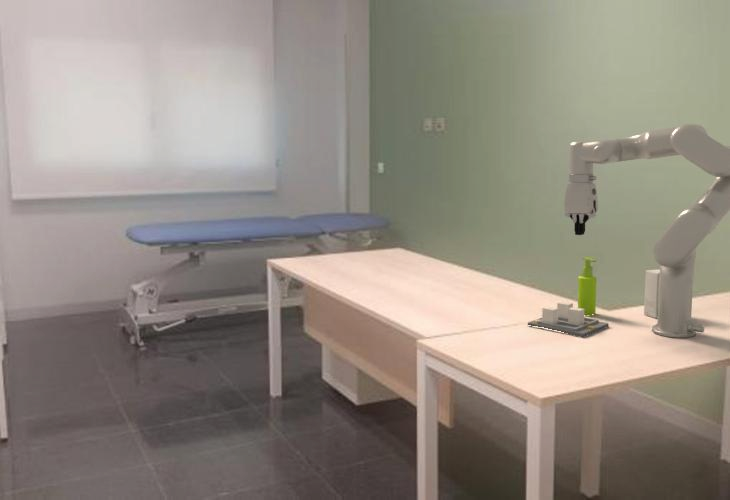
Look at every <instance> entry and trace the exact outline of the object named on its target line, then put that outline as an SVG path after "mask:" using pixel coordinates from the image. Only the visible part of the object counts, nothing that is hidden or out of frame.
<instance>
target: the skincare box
mask: <svg viewBox="0 0 730 500" xmlns="http://www.w3.org/2000/svg"><path fill="white" fill-rule="evenodd" d="M659 275H660V269H648V270H647V269H646V270H645V283H644V284H645V285H644V305H643V314H644V315H645V316H646V317H651V318H654V319H658V297H659Z"/></svg>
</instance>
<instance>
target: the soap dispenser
mask: <svg viewBox="0 0 730 500" xmlns="http://www.w3.org/2000/svg"><path fill="white" fill-rule="evenodd" d="M582 260H584V266H582V267H581V268H582V269H581V270H582V271H581V272H582V273H581V275H580V276H578V277H577V278H578V279H577V280H578V281H577V283H578V285H577V286H578V287H577V308H581V309H584V315H592V314H595V315H596V311H597V310H596V307H597V306H596V305H597V304H596V303H597V300H596V298H597V276H593V272H594V271H593V270H594V269H593V266H591V263H592V262H594V263H595V262H597V259H595V258H594V257H589V256H588V257H587V256H586V257H583V258H582Z"/></svg>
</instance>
